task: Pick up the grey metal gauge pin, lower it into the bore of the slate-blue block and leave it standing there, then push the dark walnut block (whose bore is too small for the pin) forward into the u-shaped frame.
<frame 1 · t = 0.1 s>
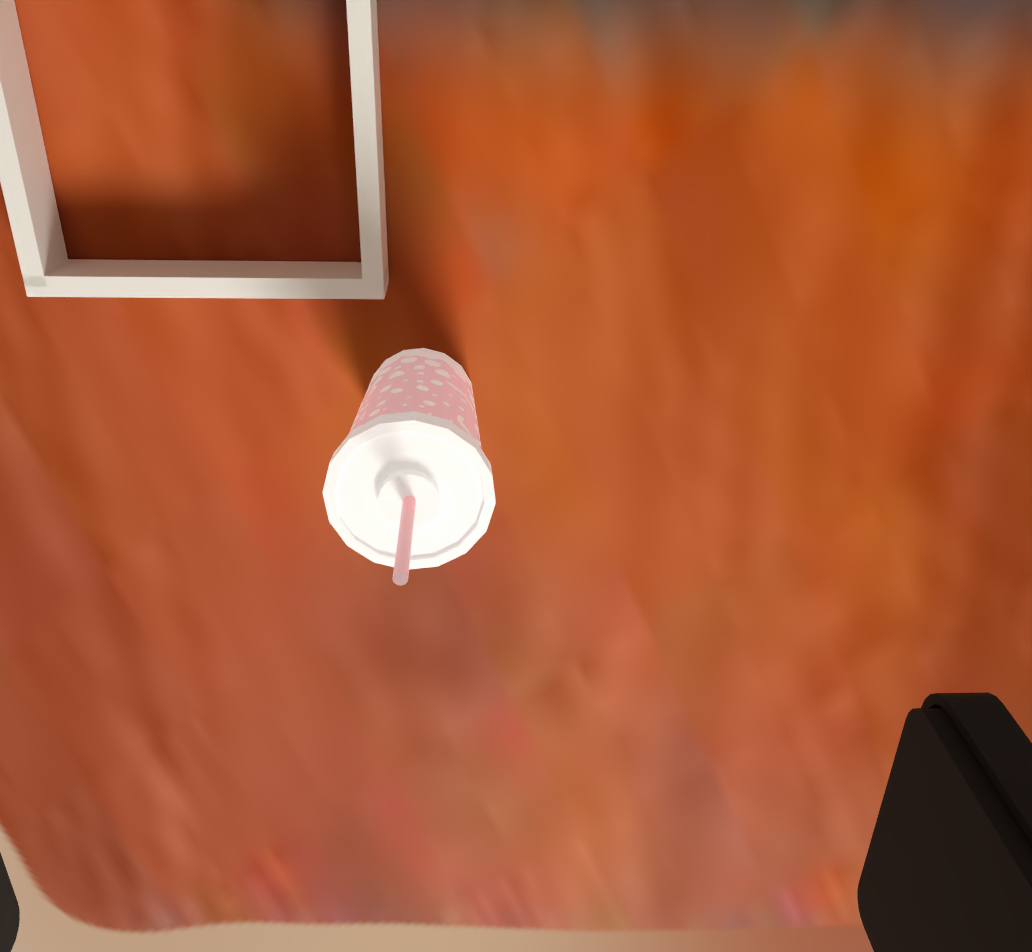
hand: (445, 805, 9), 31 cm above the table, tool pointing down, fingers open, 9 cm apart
u-shaped frame: (198, 102, 35), on the table
beverage cup: (421, 395, 41), on the table
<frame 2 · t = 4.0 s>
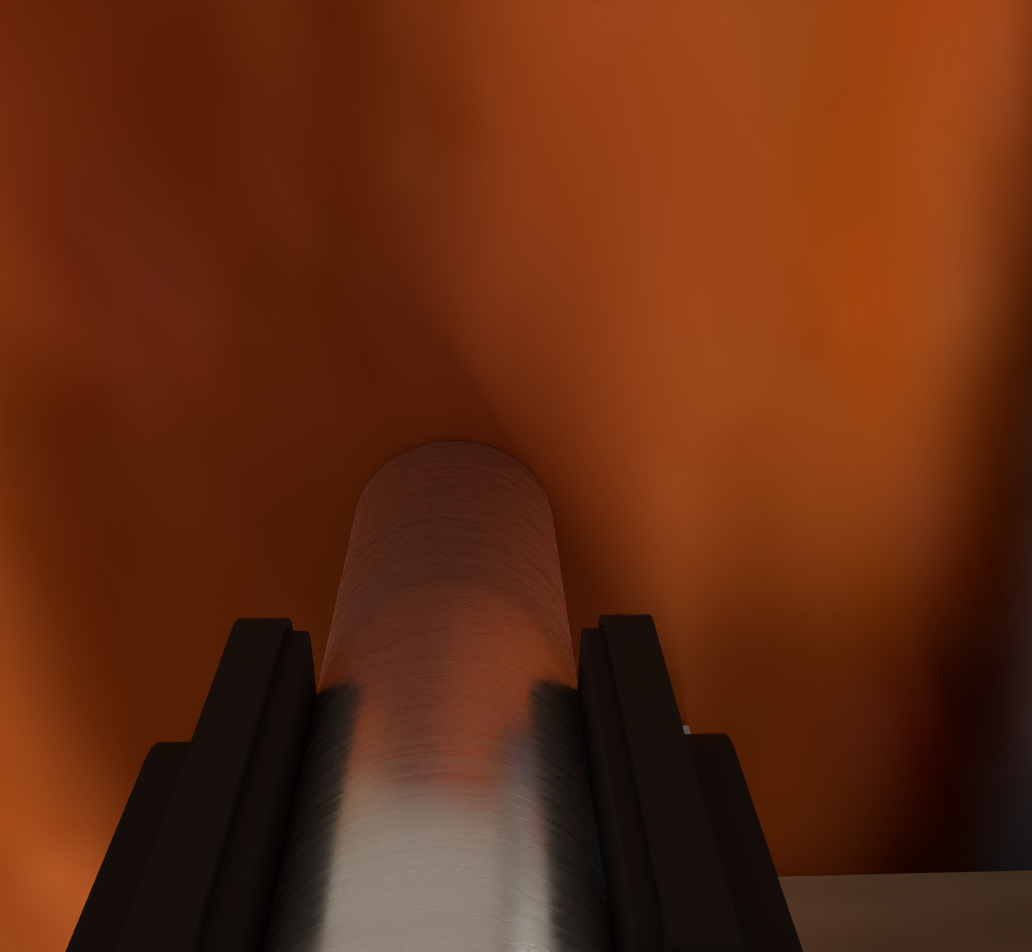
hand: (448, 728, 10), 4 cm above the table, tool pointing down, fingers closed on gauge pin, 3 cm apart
gauge pin: (454, 529, 14), on the table, touching gripper
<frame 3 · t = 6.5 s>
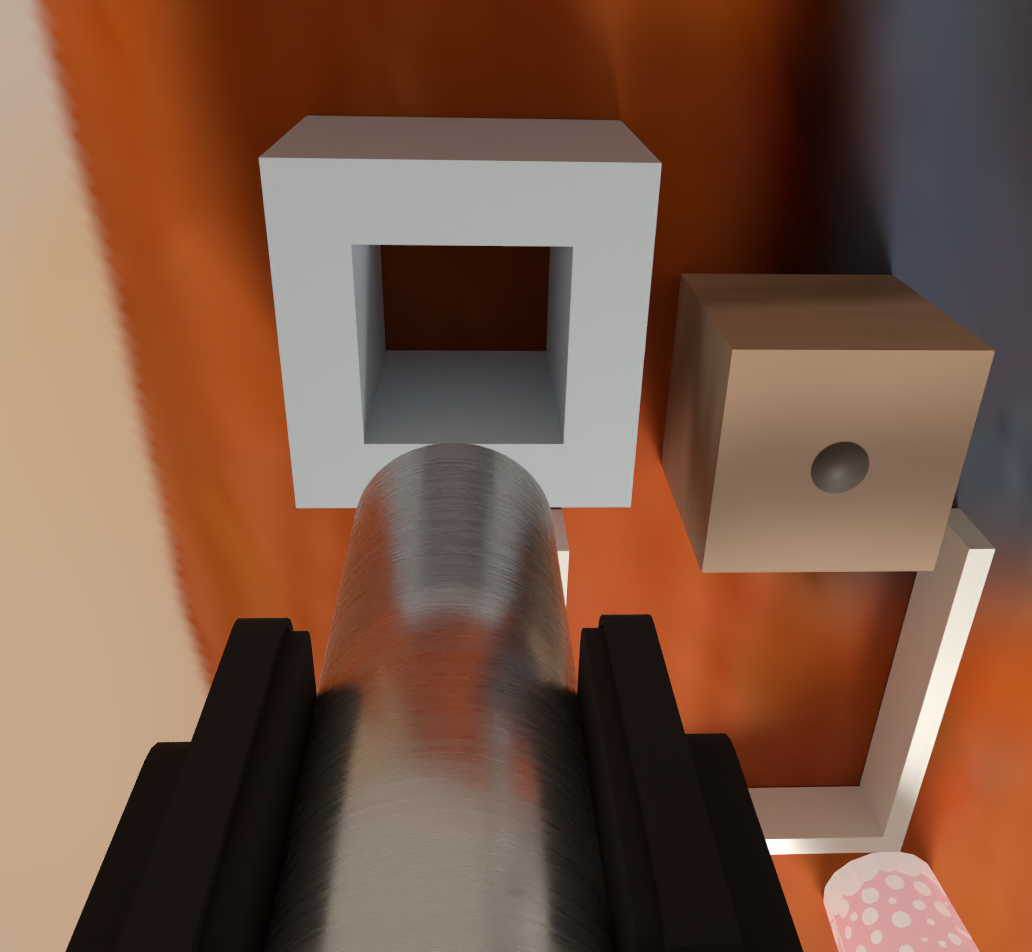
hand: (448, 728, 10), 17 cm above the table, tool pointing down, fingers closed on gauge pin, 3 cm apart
bore block: (465, 271, 26), on the table
u-shaped frame: (724, 665, 33), on the table
gauge pin: (454, 531, 14), point 13 cm above the table, touching gripper
beverage cup: (876, 884, 39), on the table
walnut block: (770, 372, 28), on the table
when the fingers open (7 cm above the table, at t = 9.0 s): gauge pin drops 2 cm, resting in bore block.
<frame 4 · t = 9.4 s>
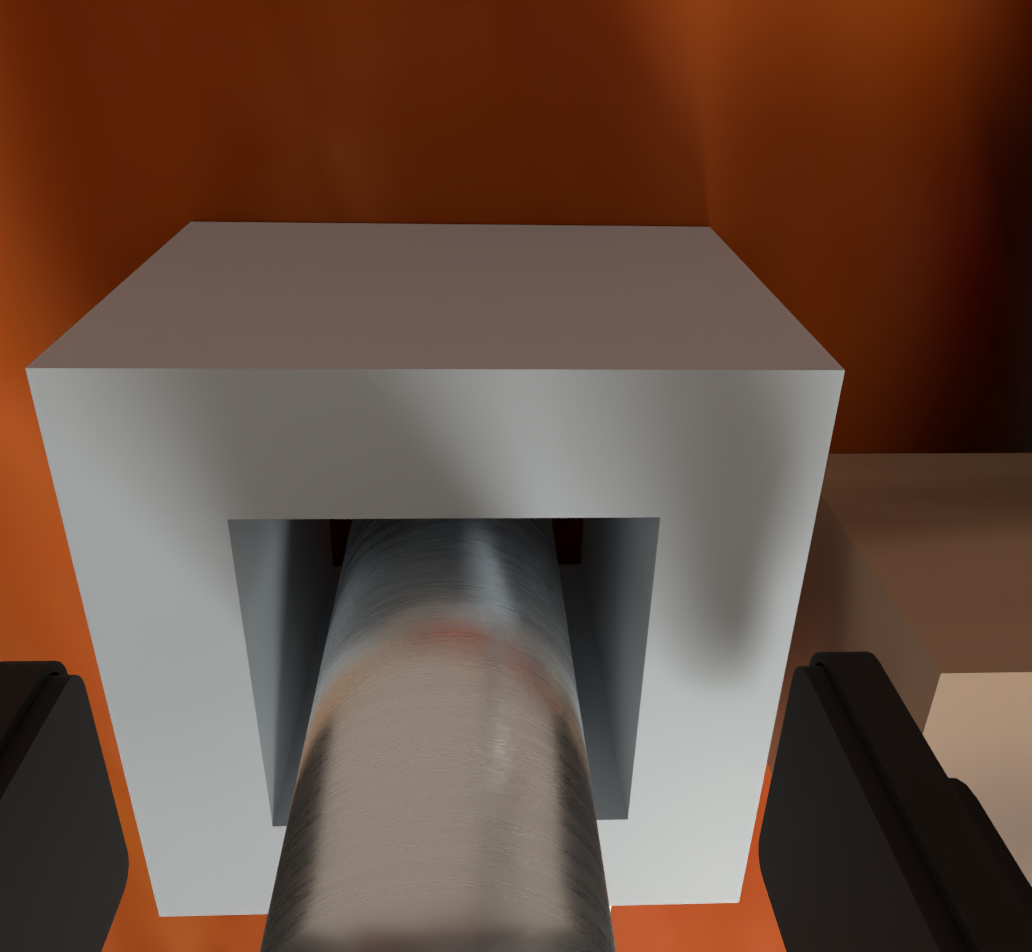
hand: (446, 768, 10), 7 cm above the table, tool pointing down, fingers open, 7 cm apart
bore block: (456, 455, 16), on the table
gauge pin: (454, 454, 16), resting in bore block
walnut block: (919, 588, 18), on the table
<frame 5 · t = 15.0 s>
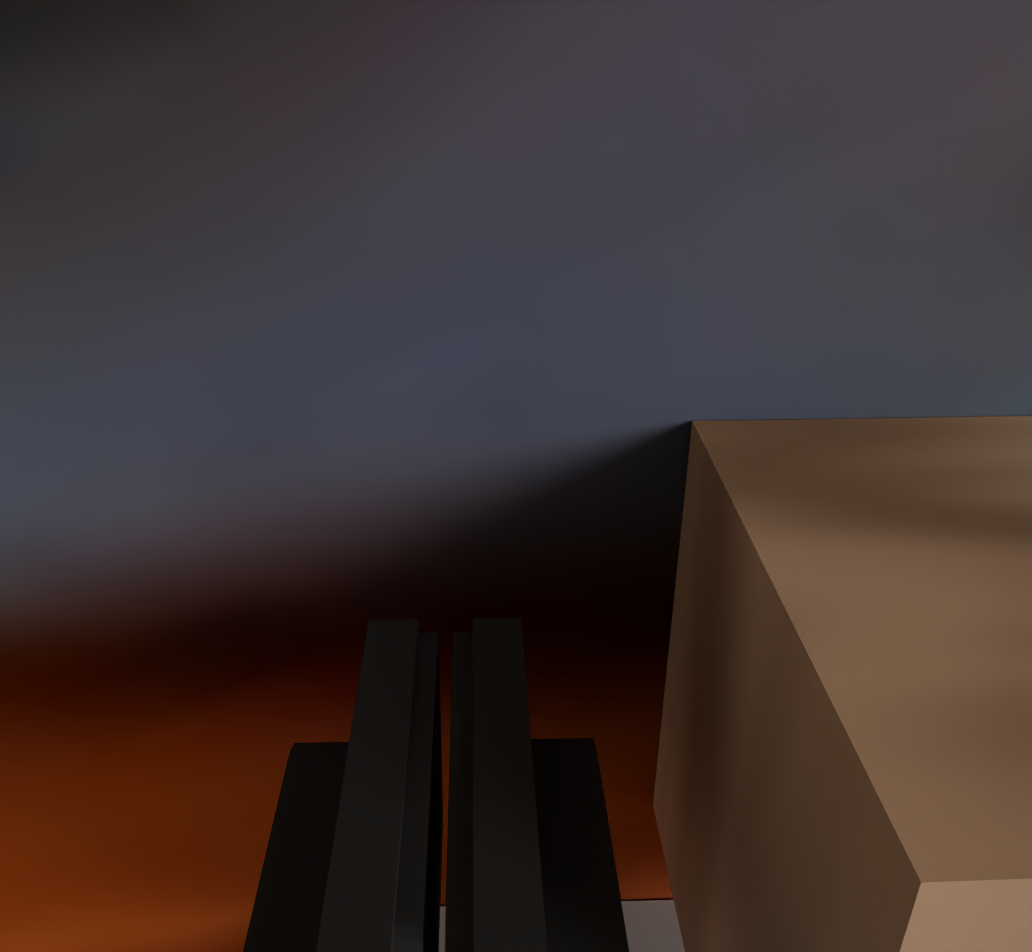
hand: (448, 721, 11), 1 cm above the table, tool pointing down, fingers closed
walnut block: (902, 630, 12), on the table, touching gripper
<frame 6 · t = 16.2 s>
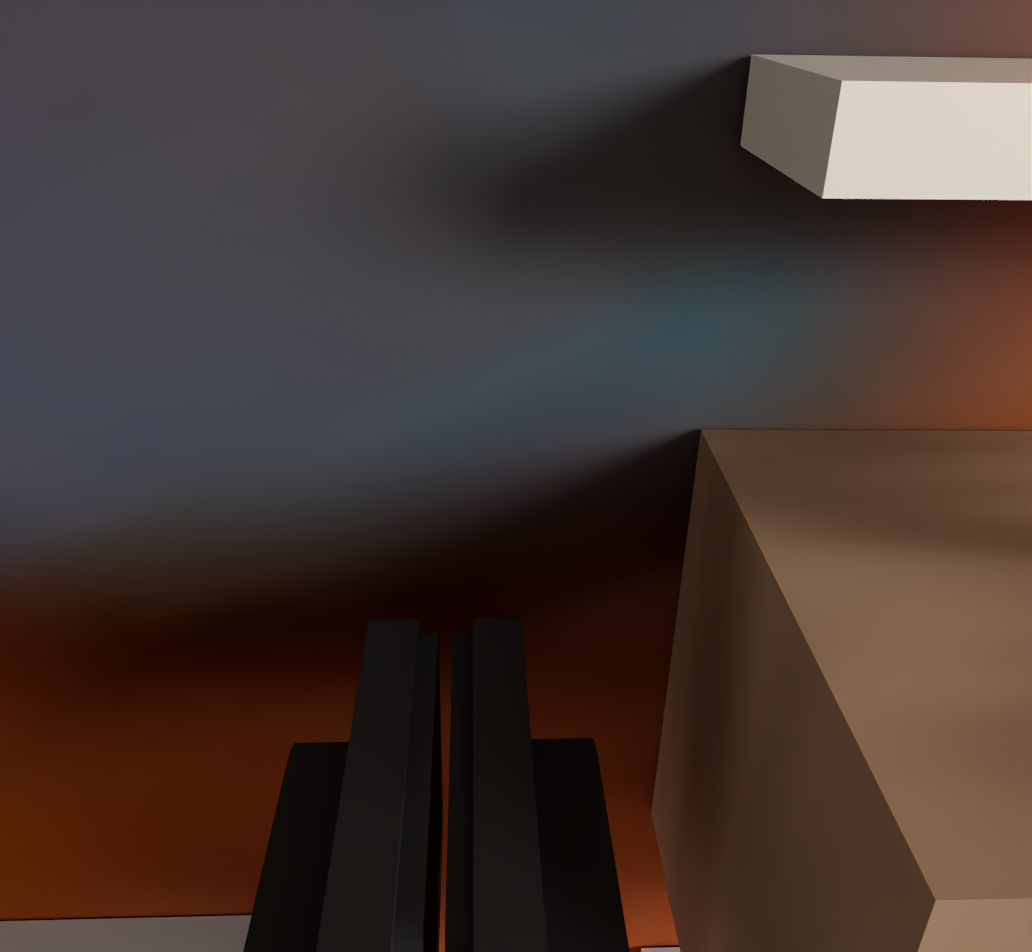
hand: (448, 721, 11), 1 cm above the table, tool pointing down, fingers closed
walnut block: (905, 642, 12), on the table, touching gripper
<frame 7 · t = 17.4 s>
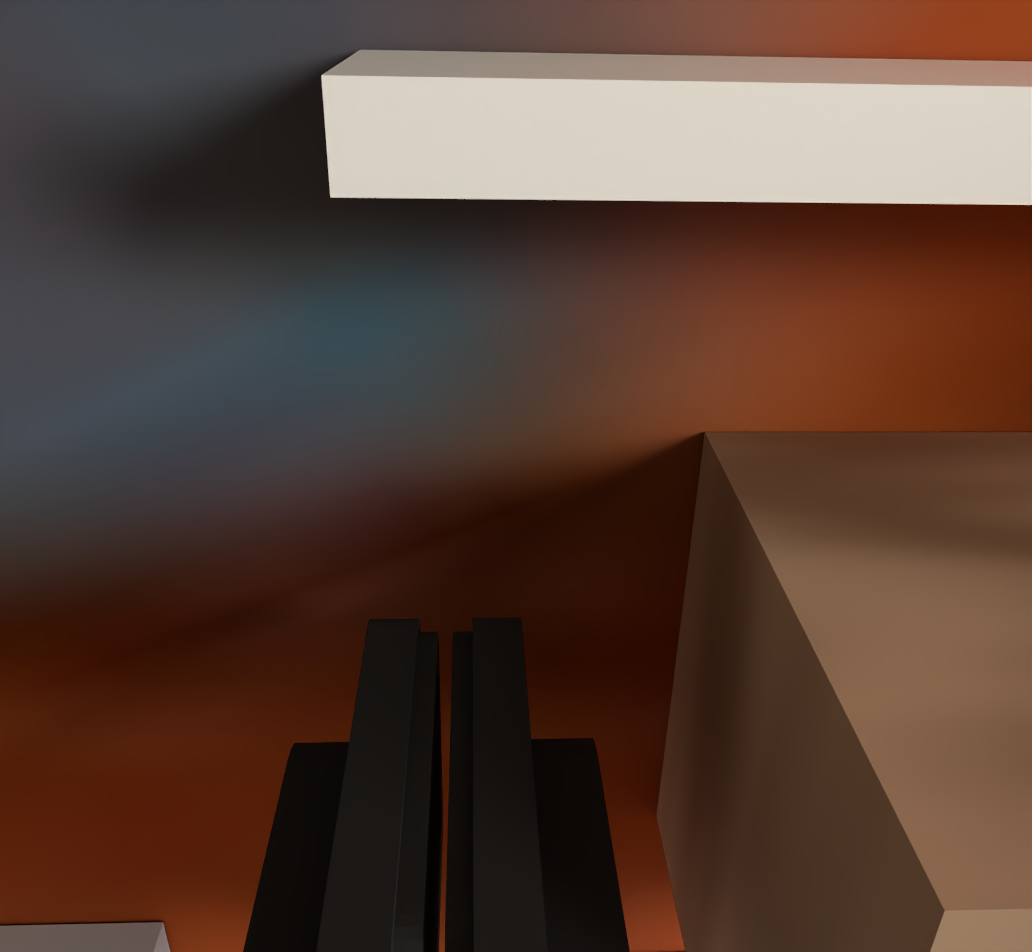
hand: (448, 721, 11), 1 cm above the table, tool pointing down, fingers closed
u-shaped frame: (900, 646, 12), on the table
walnut block: (911, 645, 12), on the table, touching gripper
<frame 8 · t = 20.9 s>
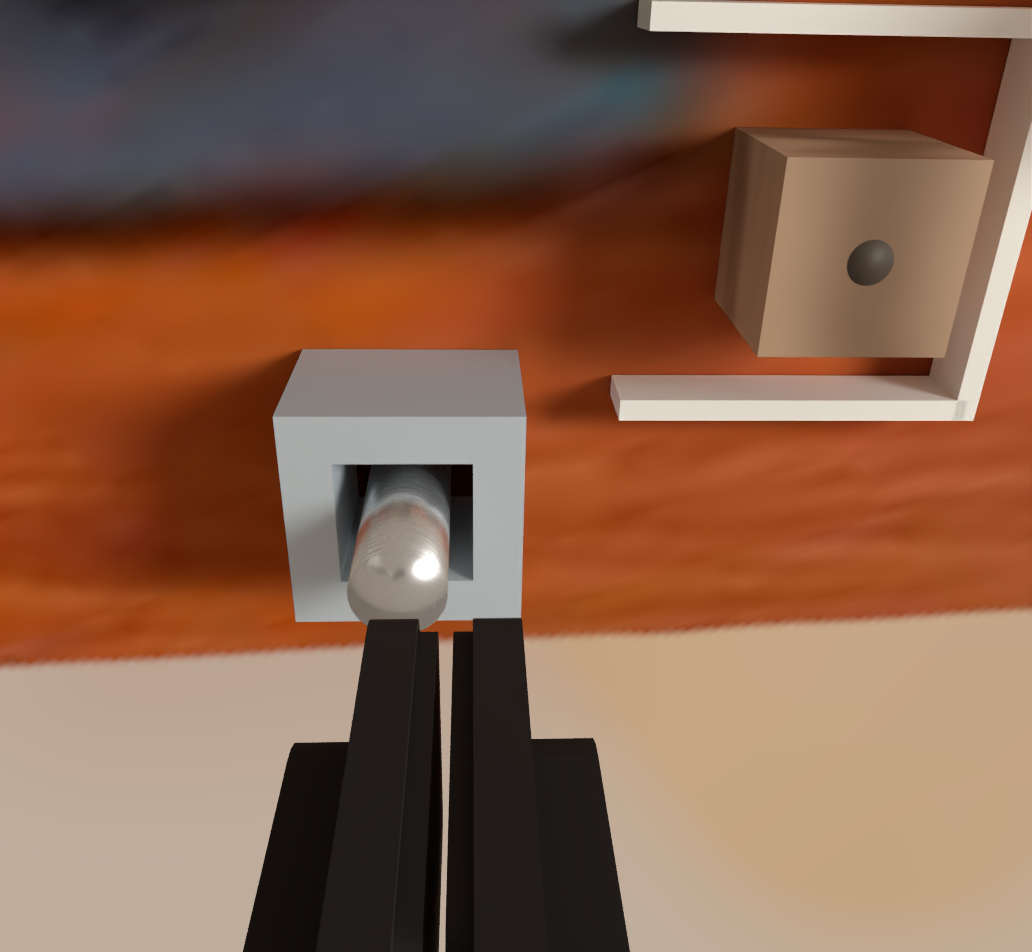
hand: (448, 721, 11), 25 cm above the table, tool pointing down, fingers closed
bore block: (414, 445, 37), on the table
u-shaped frame: (802, 217, 33), on the table
gauge pin: (414, 446, 37), resting in bore block
walnut block: (807, 217, 33), on the table
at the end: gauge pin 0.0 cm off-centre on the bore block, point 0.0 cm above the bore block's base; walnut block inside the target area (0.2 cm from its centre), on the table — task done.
